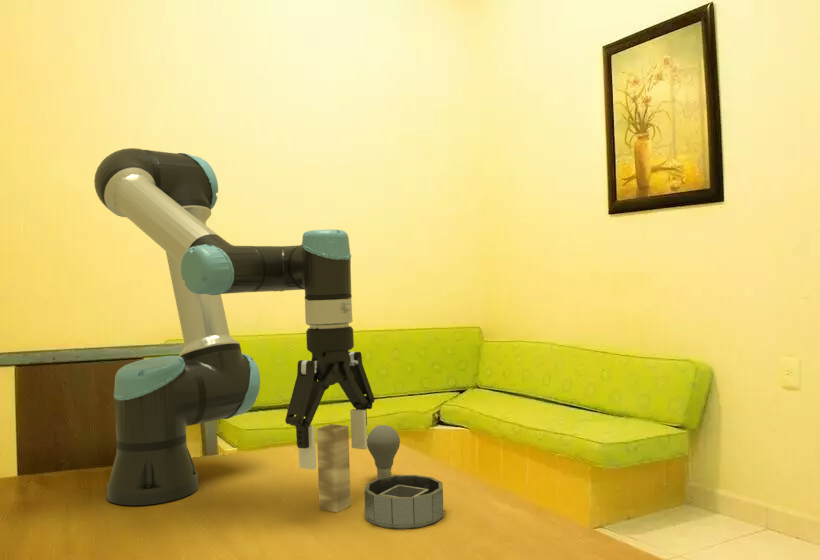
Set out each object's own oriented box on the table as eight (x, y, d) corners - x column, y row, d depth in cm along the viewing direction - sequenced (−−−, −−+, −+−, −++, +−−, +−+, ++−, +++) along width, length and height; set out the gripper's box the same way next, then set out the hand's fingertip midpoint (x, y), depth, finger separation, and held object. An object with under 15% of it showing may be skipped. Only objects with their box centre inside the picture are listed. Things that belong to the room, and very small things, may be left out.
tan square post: (319, 509, 115) (316, 428, 115) (333, 502, 118) (330, 424, 118) (337, 512, 113) (334, 430, 113) (350, 505, 116) (348, 426, 116)
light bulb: (397, 485, 126) (395, 429, 126) (364, 484, 128) (362, 428, 128) (404, 476, 132) (402, 422, 132) (372, 475, 134) (371, 421, 133)
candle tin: (350, 521, 109) (349, 491, 109) (393, 498, 120) (392, 471, 119) (418, 534, 103) (417, 503, 103) (457, 509, 113) (456, 480, 113)
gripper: (296, 332, 103) (302, 480, 103) (391, 320, 124) (396, 442, 124) (257, 332, 107) (263, 475, 107) (356, 320, 128) (360, 439, 128)
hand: (335, 458), depth 116 cm, fingers open, 13 cm apart
